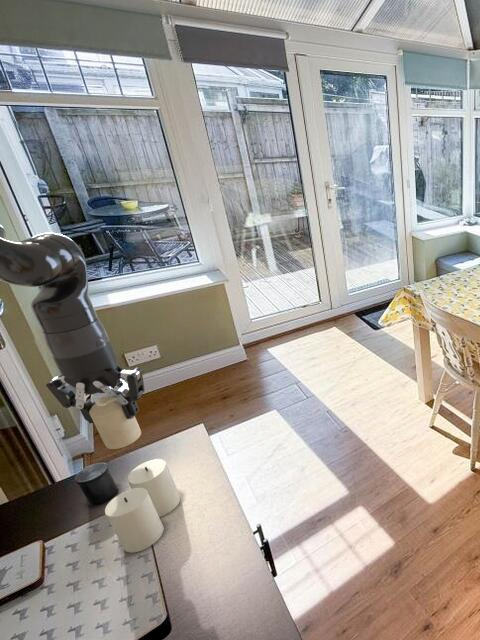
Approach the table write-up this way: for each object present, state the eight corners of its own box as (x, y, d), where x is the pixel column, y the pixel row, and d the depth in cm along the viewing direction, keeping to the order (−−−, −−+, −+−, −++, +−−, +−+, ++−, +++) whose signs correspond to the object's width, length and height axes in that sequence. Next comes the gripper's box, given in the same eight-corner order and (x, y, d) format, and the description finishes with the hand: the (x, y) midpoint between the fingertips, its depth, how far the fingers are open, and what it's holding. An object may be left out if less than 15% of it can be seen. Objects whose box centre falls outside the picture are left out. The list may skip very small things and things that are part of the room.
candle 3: (116, 555, 76) (94, 515, 72) (134, 525, 82) (115, 486, 77) (154, 549, 78) (134, 509, 73) (169, 520, 83) (152, 481, 79)
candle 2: (137, 521, 83) (118, 482, 78) (153, 495, 88) (136, 457, 83) (172, 515, 84) (155, 477, 79) (185, 490, 89) (170, 453, 85)
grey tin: (82, 508, 85) (68, 484, 82) (97, 488, 89) (85, 464, 86) (110, 503, 86) (97, 480, 83) (124, 484, 90) (112, 460, 87)
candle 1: (148, 432, 85) (132, 393, 80) (118, 452, 80) (99, 412, 76) (128, 426, 86) (111, 387, 82) (98, 445, 81) (78, 405, 77)
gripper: (139, 330, 79) (166, 400, 85) (47, 337, 75) (83, 409, 82) (115, 352, 72) (146, 426, 79) (13, 361, 69) (55, 437, 76)
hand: (114, 417), depth 81 cm, fingers closed on candle 1, 5 cm apart
